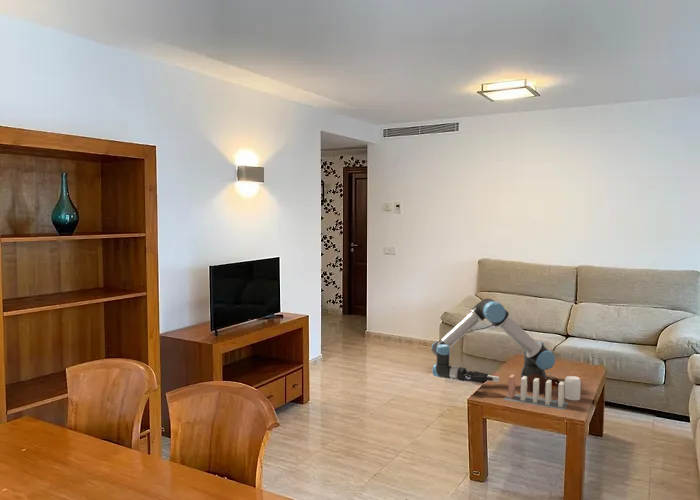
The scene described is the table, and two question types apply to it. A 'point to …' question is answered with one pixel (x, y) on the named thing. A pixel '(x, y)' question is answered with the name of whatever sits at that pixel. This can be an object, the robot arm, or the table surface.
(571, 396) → the beverage can
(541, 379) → the muffin
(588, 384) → the table surface
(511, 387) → the domino
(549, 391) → the domino
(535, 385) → the domino
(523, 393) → the domino
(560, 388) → the domino
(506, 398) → the mat
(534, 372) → the robot arm
